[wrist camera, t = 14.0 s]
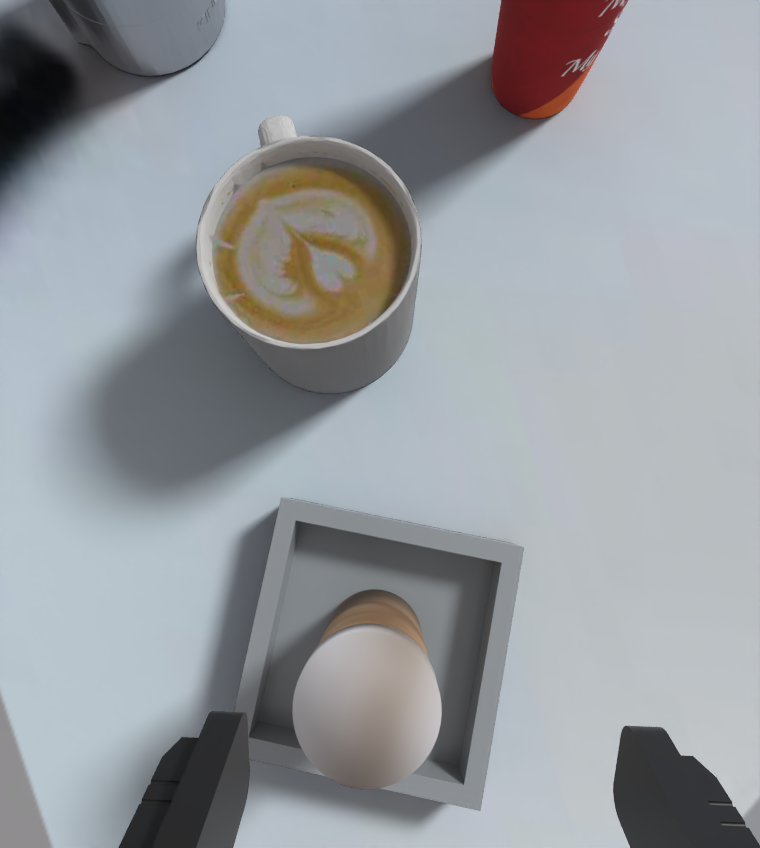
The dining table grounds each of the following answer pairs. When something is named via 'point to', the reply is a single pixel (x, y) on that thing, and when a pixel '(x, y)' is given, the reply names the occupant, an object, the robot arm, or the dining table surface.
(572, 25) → the paper cup
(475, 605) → the stoneware tray
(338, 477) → the dining table surface
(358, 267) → the coffee mug
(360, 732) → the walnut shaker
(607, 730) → the dining table surface
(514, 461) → the dining table surface
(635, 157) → the dining table surface
